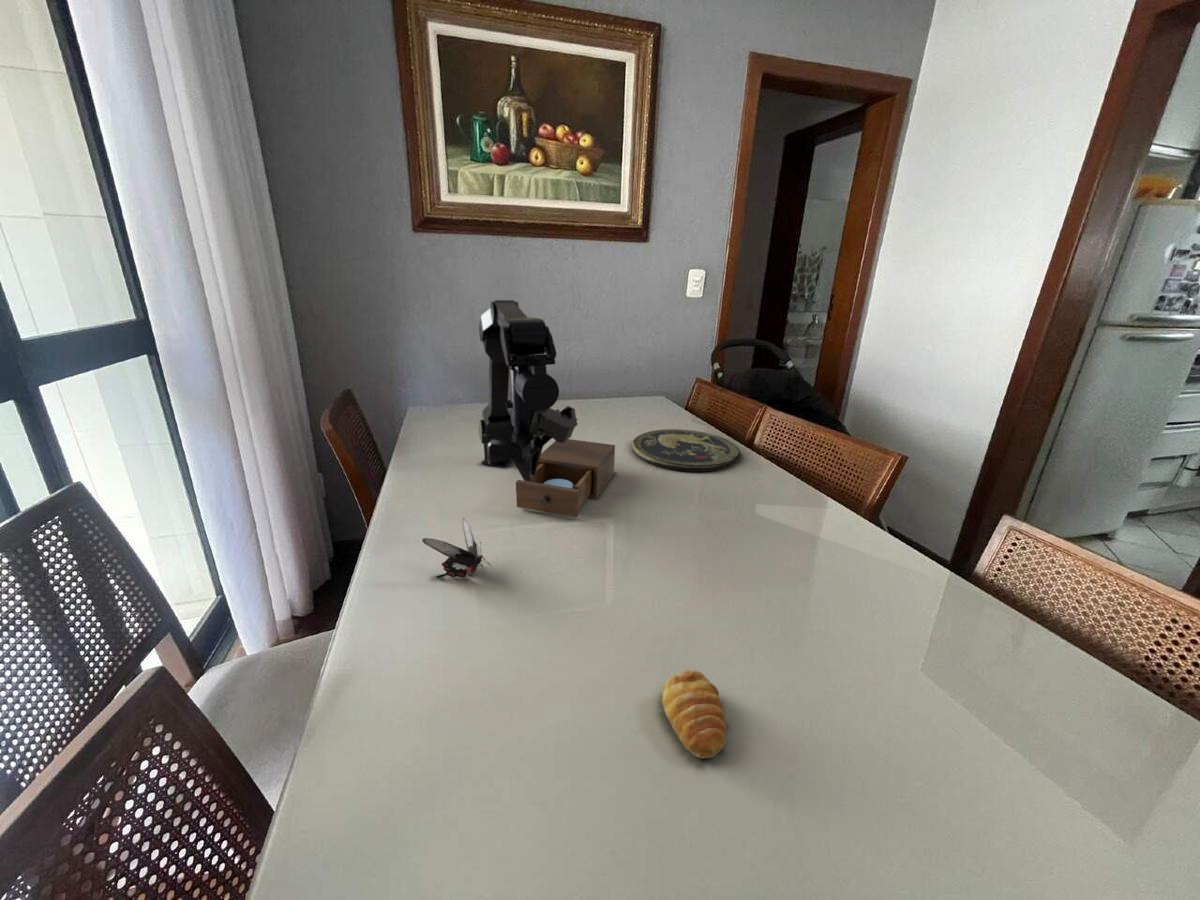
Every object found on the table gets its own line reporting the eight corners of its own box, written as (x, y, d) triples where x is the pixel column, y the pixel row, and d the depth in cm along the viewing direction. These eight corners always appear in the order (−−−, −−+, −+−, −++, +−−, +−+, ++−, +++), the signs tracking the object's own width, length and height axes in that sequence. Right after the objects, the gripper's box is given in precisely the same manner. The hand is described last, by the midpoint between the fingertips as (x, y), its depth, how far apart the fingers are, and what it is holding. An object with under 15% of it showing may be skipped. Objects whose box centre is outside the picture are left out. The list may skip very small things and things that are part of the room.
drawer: (575, 520, 97) (575, 494, 95) (514, 509, 101) (513, 484, 98) (597, 490, 110) (597, 466, 108) (542, 481, 114) (542, 458, 112)
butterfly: (447, 598, 81) (416, 547, 82) (490, 570, 86) (460, 522, 86) (455, 593, 72) (420, 536, 73) (503, 562, 76) (469, 508, 77)
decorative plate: (750, 469, 121) (630, 461, 123) (749, 476, 122) (629, 468, 124) (731, 431, 149) (633, 425, 151) (730, 437, 150) (633, 431, 152)
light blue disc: (537, 498, 103) (537, 489, 102) (549, 485, 109) (549, 476, 108) (566, 503, 101) (566, 493, 101) (577, 490, 107) (577, 481, 106)
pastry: (739, 758, 52) (744, 733, 51) (679, 767, 51) (681, 741, 50) (708, 687, 61) (712, 663, 59) (656, 693, 60) (658, 669, 58)
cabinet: (596, 498, 108) (597, 467, 105) (536, 488, 112) (535, 458, 109) (614, 473, 121) (615, 445, 119) (559, 465, 125) (559, 437, 122)
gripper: (549, 414, 73) (550, 506, 79) (588, 386, 90) (587, 464, 95) (483, 406, 76) (489, 496, 82) (533, 381, 93) (535, 457, 98)
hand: (529, 477), depth 89 cm, fingers closed
